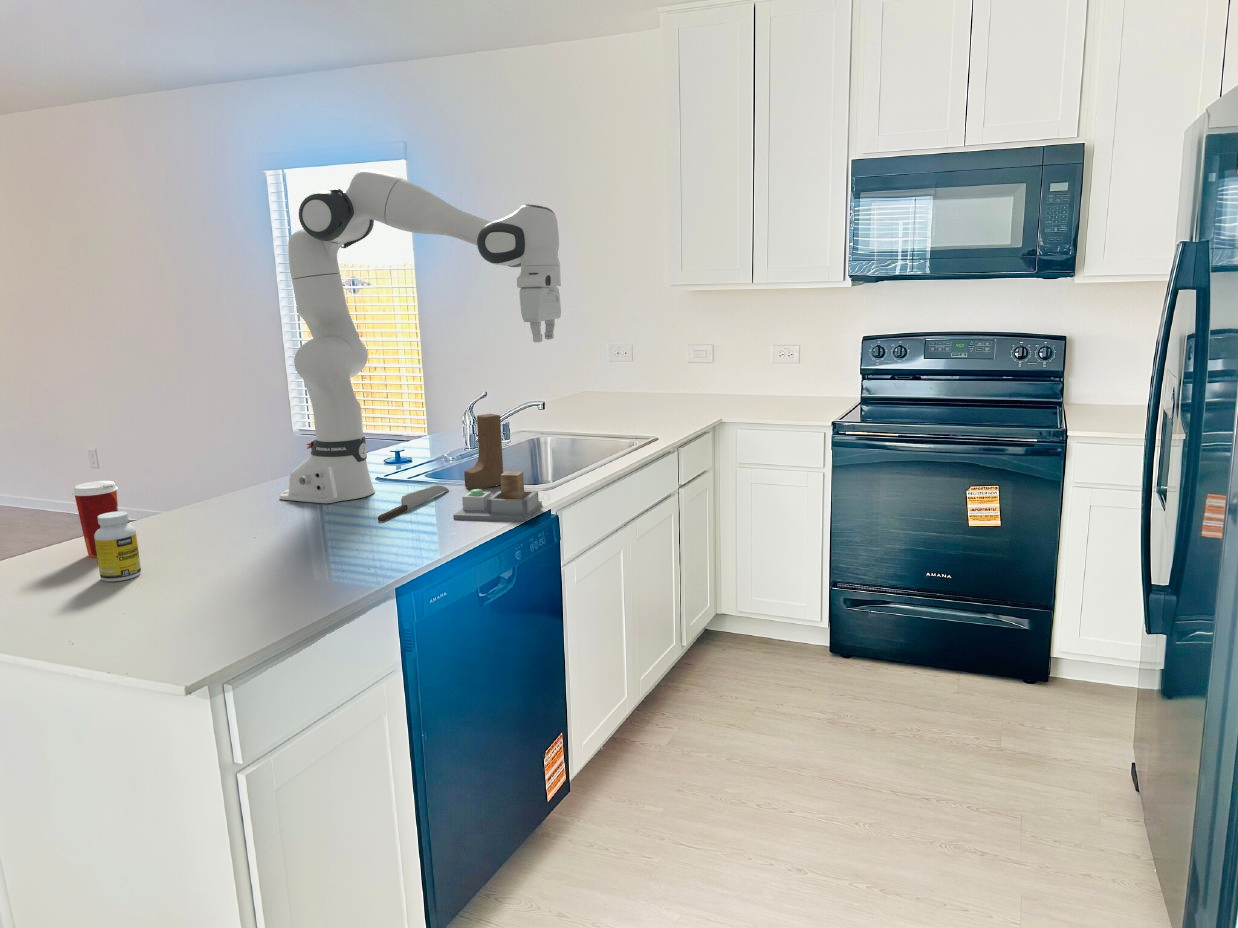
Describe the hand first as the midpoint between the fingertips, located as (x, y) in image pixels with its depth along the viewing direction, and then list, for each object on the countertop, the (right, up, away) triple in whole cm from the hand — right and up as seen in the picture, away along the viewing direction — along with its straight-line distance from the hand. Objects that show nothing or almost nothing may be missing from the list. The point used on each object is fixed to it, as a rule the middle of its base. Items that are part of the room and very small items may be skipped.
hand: (543, 340), depth 200 cm
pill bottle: (-73, -49, -43) cm, 97 cm away
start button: (-15, -37, -4) cm, 40 cm away
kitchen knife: (-30, -38, +4) cm, 49 cm away
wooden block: (-17, -34, +21) cm, 44 cm away
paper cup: (-84, -46, -28) cm, 100 cm away
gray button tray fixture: (-10, -39, -4) cm, 40 cm away
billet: (-6, -38, -5) cm, 39 cm away
